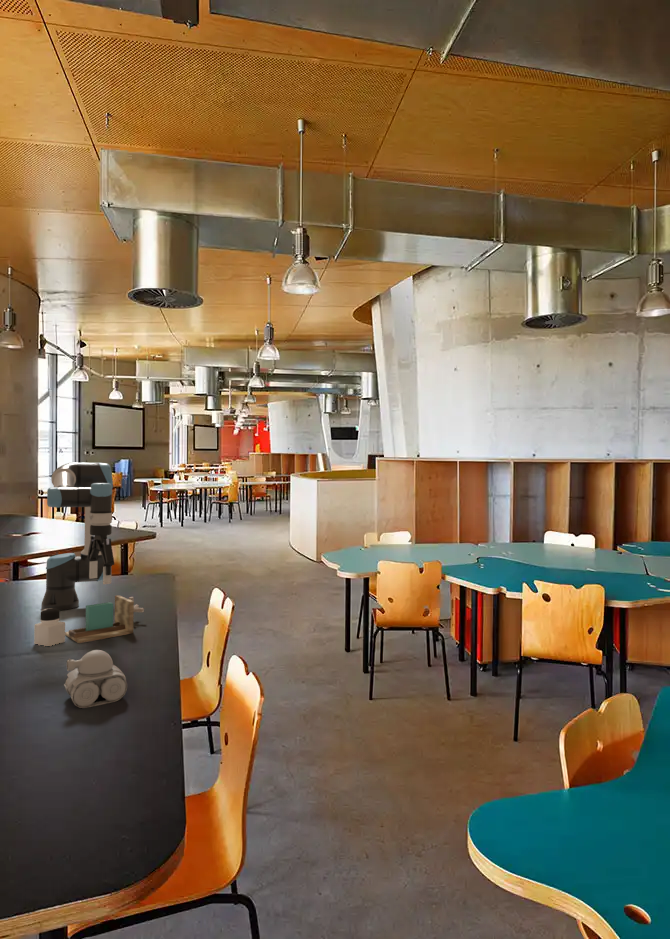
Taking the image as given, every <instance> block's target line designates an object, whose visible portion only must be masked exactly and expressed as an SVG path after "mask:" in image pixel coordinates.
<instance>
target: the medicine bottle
mask: <svg viewBox="0 0 670 939" xmlns="http://www.w3.org/2000/svg"><path fill="white" fill-rule="evenodd" d="M60 612H61V610H59V609H56V608H49V609H44V610H43V609H41V611H40V618H39V619H40V622H38V623H35V624H34V629H33V630H34V631H33V633H34V635H33V636H34V639H33V643H34V645H35V644H38V645H37V646H40V645H44V646H43V647H45V646H50V647H53V646H55V644H56V645H59V643H60V644H63V643H65V642H66V635H65V632H66V622H65V621H60ZM52 645H53V646H52Z"/></svg>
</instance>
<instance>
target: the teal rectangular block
mask: <svg viewBox="0 0 670 939" xmlns="http://www.w3.org/2000/svg"><path fill="white" fill-rule="evenodd" d="M113 623H114V603H113V602H111V601H109V602H102V603H101V602H100V603H96V604H87V605H85V628H86V631H90V630H96V629H102V628H107V627H113Z"/></svg>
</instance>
